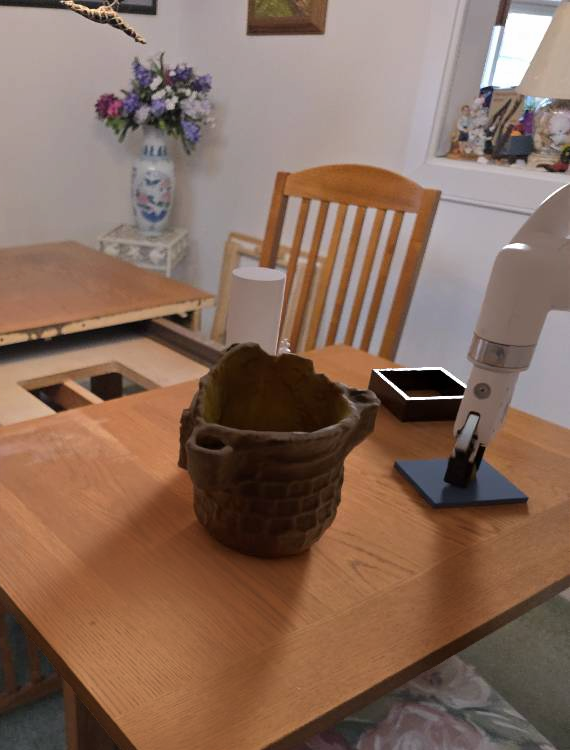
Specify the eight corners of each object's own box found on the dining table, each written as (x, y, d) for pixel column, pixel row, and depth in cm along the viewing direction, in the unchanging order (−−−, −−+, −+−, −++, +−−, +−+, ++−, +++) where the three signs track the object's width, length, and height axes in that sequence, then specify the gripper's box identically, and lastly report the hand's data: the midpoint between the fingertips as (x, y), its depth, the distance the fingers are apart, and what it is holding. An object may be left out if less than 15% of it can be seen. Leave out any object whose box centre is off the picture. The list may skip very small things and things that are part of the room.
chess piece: (279, 402, 121) (288, 345, 115) (258, 393, 124) (265, 337, 118) (297, 396, 124) (306, 340, 118) (276, 387, 127) (284, 332, 121)
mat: (479, 461, 106) (481, 456, 106) (527, 502, 96) (529, 497, 96) (393, 465, 104) (394, 460, 103) (433, 508, 94) (435, 503, 93)
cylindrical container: (206, 442, 107) (221, 271, 93) (237, 429, 111) (255, 264, 97) (242, 459, 103) (263, 283, 89) (272, 445, 107) (297, 275, 93)
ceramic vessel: (388, 570, 67) (259, 339, 62) (201, 622, 83) (84, 441, 78) (434, 470, 84) (335, 280, 78) (270, 529, 100) (178, 374, 94)
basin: (436, 388, 130) (441, 367, 128) (475, 419, 119) (482, 397, 117) (367, 390, 127) (371, 369, 125) (401, 422, 116) (407, 399, 114)
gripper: (517, 377, 82) (471, 510, 92) (545, 340, 93) (502, 462, 104) (452, 362, 85) (415, 492, 95) (487, 328, 97) (451, 447, 107)
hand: (461, 475), depth 99 cm, fingers closed on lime, 4 cm apart
